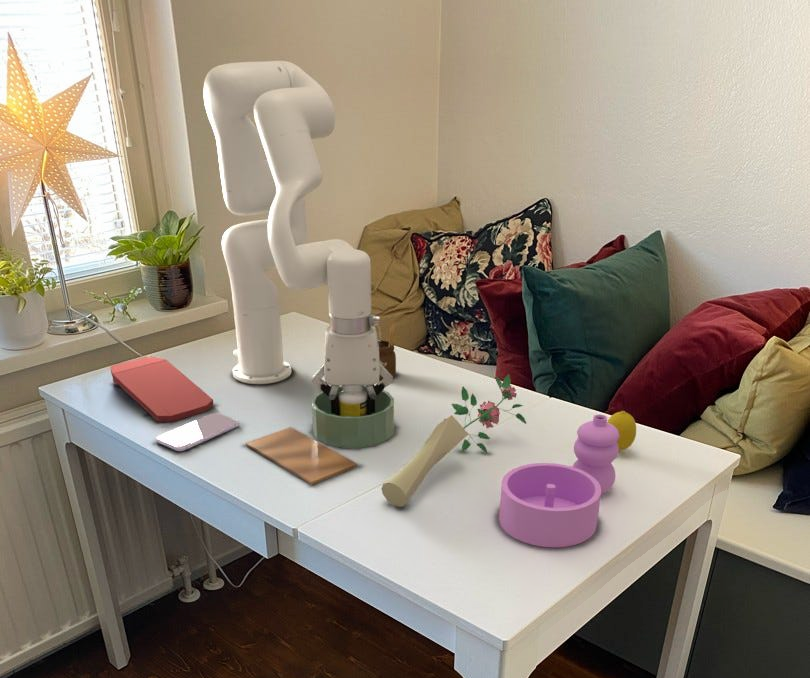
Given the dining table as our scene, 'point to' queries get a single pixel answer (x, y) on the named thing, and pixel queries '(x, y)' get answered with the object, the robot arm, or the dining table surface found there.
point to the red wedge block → (160, 388)
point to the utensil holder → (387, 353)
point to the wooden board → (301, 455)
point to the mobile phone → (197, 432)
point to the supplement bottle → (353, 401)
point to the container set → (561, 491)
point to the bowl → (353, 422)
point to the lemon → (624, 428)
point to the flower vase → (445, 444)
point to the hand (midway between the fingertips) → (353, 415)
